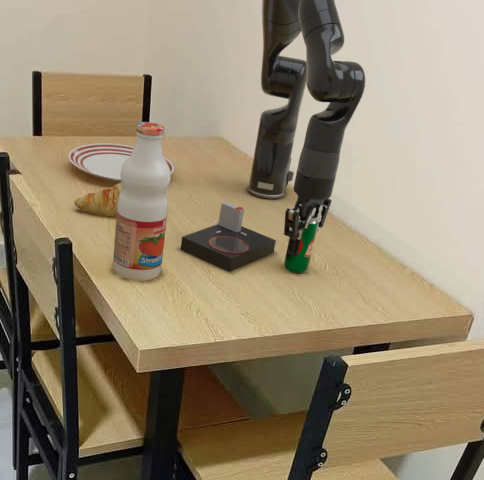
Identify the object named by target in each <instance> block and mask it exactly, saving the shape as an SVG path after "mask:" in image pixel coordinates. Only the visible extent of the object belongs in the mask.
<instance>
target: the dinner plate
mask: <svg viewBox="0 0 484 480" xmlns="http://www.w3.org/2000/svg"><path fill="white" fill-rule="evenodd" d="M134 147H135V146H132V145H128V144H127V145H126V144H119V143H109V142H108V143H107V142H106V143H105V142H104V143H102V142H101V143H100V142H99V143H88V144H84V145H80V146H77V147H75V148H73V149H72V150H70V151H69V152H68V154H67V158H68V160H69V161H70V164H72V165H73V166H74V167H76V168H77V169H79V170H80V171H82V172H84V173H86V174H88V175H90V176H92V177H95V178H97V179H99V180H103V181H106V182H111V183H115V184H118V183H121V176H120V174H121V168H122V166H123V164H124V162H125V161H126V160H127V159H128V158H129V157H130V156H131V154H132V152H133V150H134ZM164 159H165V161H166V163H167V165H168V166H169V168H170V172H171V175H173V174H174V172H175V165H174V163H173V162H172V161H171V160H170V159H169V158H167V157H165V156H164Z"/></svg>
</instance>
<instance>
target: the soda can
mask: <svg viewBox="0 0 484 480" xmlns="http://www.w3.org/2000/svg"><path fill="white" fill-rule="evenodd" d="M304 222H305V221H301V220H299V223H301V224H304ZM318 223H319V221H318V216H316V215H315V216H314V217H312V218H311V221H310V223H309V224H308V228H307V229H305V230H304V232H303V235H302V237H301V242H300V247H299V251H298V255H297V256H295V257H294V256H291V255H289V254H288V253H287V249H288V246H287V247H286V252H285V257H284V262H283V266H284V268H285V269H286V270H287V271H289V272H291V273H294V274H303V273H306V271H309V270H308V269H309V267H310V262H311V258H312V254H313V253H312V252H313V249H314V244H315V240H316V235H317V233H316V231H317V227H318ZM299 229H300V227H298V232H299ZM317 232H318V231H317ZM289 239H290V237H288V240H289ZM288 244H289V241H288V243H287V245H288Z"/></svg>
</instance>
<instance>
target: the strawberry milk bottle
mask: <svg viewBox="0 0 484 480" xmlns="http://www.w3.org/2000/svg"><path fill="white" fill-rule="evenodd" d="M135 134H136V142H135V145H134V146H133V147H134V150H133V152H132V154H131V156H130V157H129V158H128V159H127V160H126V161H125V162H124V164H123V166H122V168H121V174H120V176H121V183H122V190H121V192H120V194H119V197H118V204H117V216H116V217H115V229H114V230H115V232H114V233H115V234H114V244H113V257H112V268H113V272H114V273H116V275H117V276H119V277H121V278H123V279H127V280H131V281H137V282H139V281H141V282H142V281H144V282H145V281H150V280H153V279H155V278H157V277H158V276H159V275H160V273H161V270H162V266H163V265H162V264H163V258H164V257H163V256H164V249H165V239H166V231H167V223H168V222H167V221H168V213H169V198H168V195H167V192H168V189H169V187H170V184H171V182H172V181H171V180H172V174H171V172H170V168H169V166H168V165H167V163H166V161H165V159H164V157H165V156H164V151H163V145H162V139H163V138H164V135H165V127H164V125H162V124H160V123H156V122H149V121H140V122H138V123H136V127H135Z"/></svg>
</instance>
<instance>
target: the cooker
mask: <svg viewBox="0 0 484 480" xmlns="http://www.w3.org/2000/svg"><path fill="white" fill-rule="evenodd" d="M212 223H215V224H214V225H211V226H209V227H206V228H203V229H200V230H197V231H194V232H192V233H188V234H186V235H184V236H181V243H180V251H182V252H184V253H187V254H189V255H190V256H193V257H196V258H197V259H199V260H202V261H204V262H206V263H208V264H210V265H213V266H214V267H217V268H220V269H221V270H224V271H226V272H228V273H231V272H233V271H235V270H238V269H240V268H243V267H244V266H247V265H249V264H252V263H254V262H256V261H258V260H260V259H263V258H265V257H268V256H270V255H272V254H274V252H275V248H276V244H277V243H276V242H277V240H276V239H274V238H272V237H269V236H267V235H264V234H263V233H259V232H257V231H254V230H253V229H250V228H247V227H245V226H243V225H242V226H241V231H239V232H234V231H232V230H229V229H227V228H224V227H222V226H220V225H218V223H219V221H216V220H212ZM217 236H229V237H234V238H238V239H240V240H243V241H244V242H246V243H247V244H248V245H249V249H248V251H246V252H244V253H238V254H232V253H225V252H221V251H218V250H216V249H214V248H212V247H211V246H210V245H209V240H210V239H211V238H213V237H217Z"/></svg>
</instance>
